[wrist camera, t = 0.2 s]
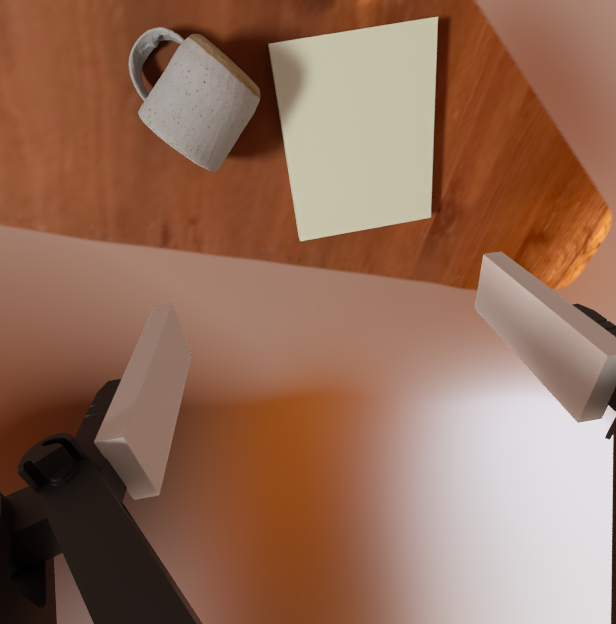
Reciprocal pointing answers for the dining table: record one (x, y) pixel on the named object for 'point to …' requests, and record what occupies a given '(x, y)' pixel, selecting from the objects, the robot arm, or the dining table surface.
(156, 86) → the ceramic mug
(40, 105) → the dining table surface
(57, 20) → the dining table surface
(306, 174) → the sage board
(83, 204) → the dining table surface
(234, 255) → the dining table surface
